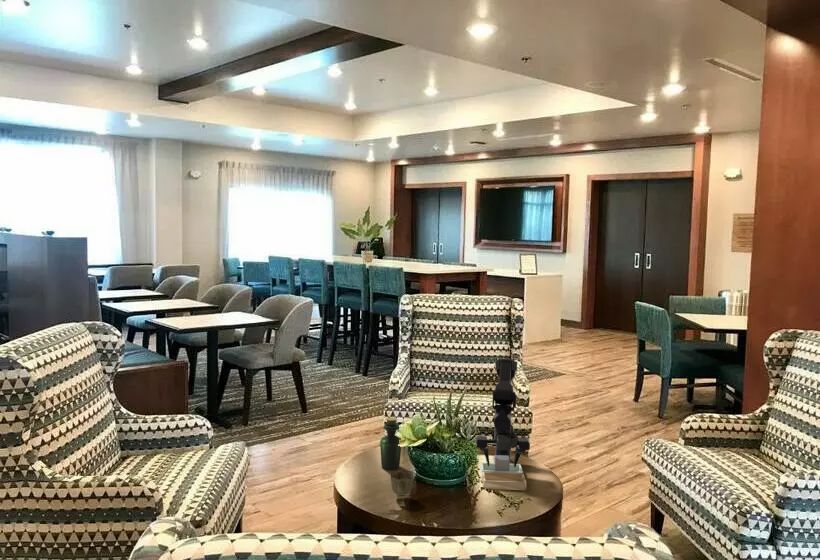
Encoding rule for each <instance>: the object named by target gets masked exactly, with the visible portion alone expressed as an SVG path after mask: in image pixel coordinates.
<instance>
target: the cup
mask: <svg viewBox="0 0 820 560" xmlns="http://www.w3.org/2000/svg"><path fill="white" fill-rule="evenodd" d="M389 475H390V484H391V491H392V492H393V493H394V494H395V498H396V499H397V500H400V501H403V500H406V499H408V494H410V492H412V491H411V490H412V488H413V483H414V474H413V473H412V472H411V471H409V470H408V471H406V470H404V471H402V470H398V471H396V470H394V473H393V472H391V473H390V474H389Z"/></svg>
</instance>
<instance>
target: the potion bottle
mask: <svg viewBox="0 0 820 560" xmlns="http://www.w3.org/2000/svg"><path fill="white" fill-rule="evenodd" d="M397 419H398V418H396V417H391V416H390V417H386V423H385V424H384V425H383V429H384V430H385V432H386V435H385V436H384V437H382V438H381V439H380V441H379V447H380V450H379V451H380V463H381V464H380V465H381V468H382V469H384V470H385V471H386V470H388V471H396V470H398V469H399V468H400V462H401V453H402V447H400V446H398V444H399V438H400V437H399V436H398V435H396V434H397V431H398V430H399V429H400V425H399V424H398V423H397Z"/></svg>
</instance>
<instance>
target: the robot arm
mask: <svg viewBox="0 0 820 560" xmlns="http://www.w3.org/2000/svg"><path fill="white" fill-rule="evenodd" d="M494 362H495V365H494V367H495V368H494V371H495V372H496V376H497V378H498V381H499V382H498V383H497V384H495V387H494V390H493V391H492V403H491V404H492V405H491V409H492V410H494V419H493V426H494V429H492V432H491V434H492V435H491V439H490V438H489V439H488V437H487V436H486V435H485V436H484V435H477V436H476V437H475V442H476V443H475V445H476V444H477V447H478V448H477V449H479V451H482V452H483V454H484V457H485V460H486V463H487V464H488V466H489V463H490V455H489V447H488V446H491V447H495V454H494V455H504V456H509V460H510V464H514V468H515V467H516V464H518V462H519V459H520V457H521V455H522V454H523V453H526V452H527V451H530V449H531V443H530V440H529V439H528V437H518V436H517V435H516V432H515V431H514V427H513V425H512V412H514V411H515V408H517V394H516V392H515V391H514V386H513V385H512V382H513V381H514V379H515V378H516V373H517V371H518V361H515V360H514V359H511V358H499V359H496V360H495V361H494ZM512 449H515V451H514V459H513V462H512V457H511V455H512V453H511V451H512Z"/></svg>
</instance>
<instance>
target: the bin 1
mask: <svg viewBox="0 0 820 560" xmlns="http://www.w3.org/2000/svg"><path fill="white" fill-rule="evenodd" d="M482 472H495V473H518V474H524V471H523V468H522V465H521V463H517V464H516V467H515V468H514V463H512V464H510V466H509V471H494V462H489V466H488V464H487V462H480V474H481V476H482Z"/></svg>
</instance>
